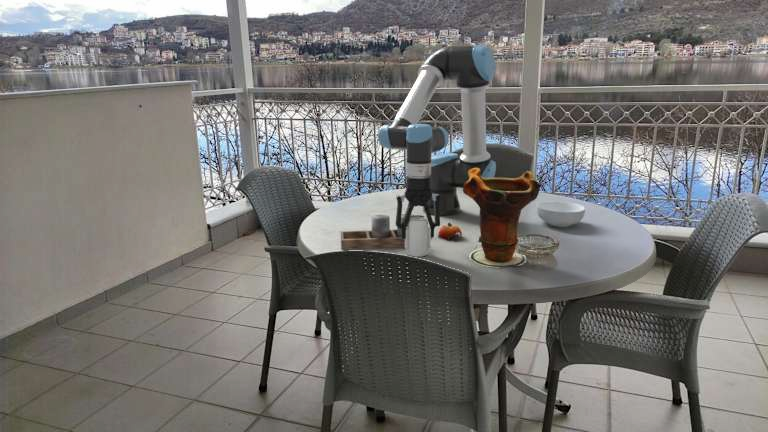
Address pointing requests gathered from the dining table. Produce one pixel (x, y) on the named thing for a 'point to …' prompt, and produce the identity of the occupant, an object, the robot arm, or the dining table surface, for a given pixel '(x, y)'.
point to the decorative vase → (499, 215)
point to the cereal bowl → (560, 213)
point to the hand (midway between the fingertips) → (417, 247)
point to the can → (417, 236)
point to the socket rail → (368, 240)
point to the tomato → (448, 231)
